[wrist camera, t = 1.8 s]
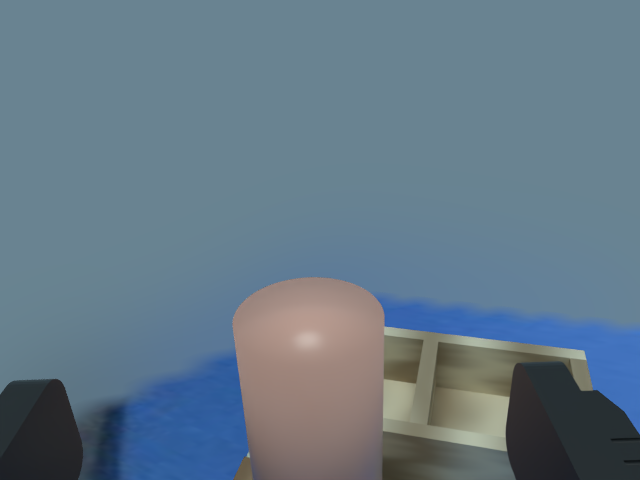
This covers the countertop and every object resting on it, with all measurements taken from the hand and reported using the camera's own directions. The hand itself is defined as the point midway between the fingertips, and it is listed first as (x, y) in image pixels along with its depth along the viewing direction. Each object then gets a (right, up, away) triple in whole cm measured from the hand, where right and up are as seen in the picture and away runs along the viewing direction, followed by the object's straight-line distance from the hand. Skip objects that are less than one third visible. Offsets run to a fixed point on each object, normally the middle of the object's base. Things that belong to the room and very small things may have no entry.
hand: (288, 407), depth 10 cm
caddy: (+8, -10, +28) cm, 31 cm away
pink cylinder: (+1, -12, +19) cm, 23 cm away
